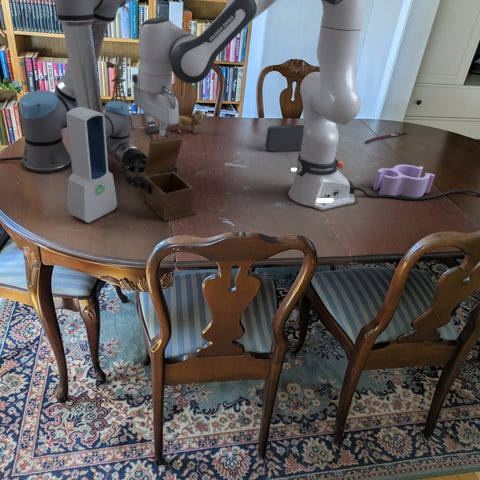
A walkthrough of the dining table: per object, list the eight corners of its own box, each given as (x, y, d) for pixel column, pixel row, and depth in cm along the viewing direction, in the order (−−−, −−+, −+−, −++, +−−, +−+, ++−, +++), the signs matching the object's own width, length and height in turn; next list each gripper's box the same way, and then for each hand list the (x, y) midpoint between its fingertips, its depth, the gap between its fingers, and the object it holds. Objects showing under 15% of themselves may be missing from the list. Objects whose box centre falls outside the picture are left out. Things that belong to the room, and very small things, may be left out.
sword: (403, 131, 224) (404, 129, 223) (408, 133, 222) (409, 131, 221) (360, 143, 208) (360, 140, 207) (365, 145, 206) (366, 142, 205)
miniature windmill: (125, 135, 188) (121, 57, 171) (105, 132, 189) (100, 54, 172) (134, 128, 195) (131, 52, 179) (115, 125, 196) (110, 49, 180)
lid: (182, 138, 133) (169, 118, 137) (152, 143, 128) (139, 122, 132) (174, 170, 143) (162, 151, 147) (145, 176, 138) (134, 156, 142)
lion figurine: (200, 128, 202) (201, 108, 197) (204, 133, 198) (205, 112, 193) (167, 129, 197) (167, 108, 192) (170, 134, 193) (170, 113, 188)
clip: (386, 199, 160) (391, 181, 156) (367, 183, 170) (371, 166, 166) (433, 195, 166) (439, 178, 163) (412, 180, 176) (417, 163, 172)
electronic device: (85, 224, 129) (74, 119, 113) (67, 215, 132) (53, 112, 116) (118, 208, 139) (112, 108, 122) (99, 200, 142) (92, 102, 125)
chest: (193, 213, 140) (193, 188, 135) (164, 221, 135) (164, 194, 131) (173, 195, 149) (173, 171, 144) (145, 202, 144) (144, 176, 139)
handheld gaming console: (315, 147, 196) (319, 124, 190) (317, 149, 194) (322, 126, 188) (264, 149, 189) (267, 125, 183) (266, 152, 187) (269, 127, 181)
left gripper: (161, 163, 163) (196, 189, 148) (100, 175, 151) (131, 204, 136) (161, 142, 159) (197, 167, 144) (98, 153, 146) (130, 181, 132)
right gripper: (185, 91, 123) (184, 141, 131) (148, 72, 137) (149, 118, 144) (164, 94, 120) (164, 144, 128) (128, 74, 133) (130, 121, 141)
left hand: (165, 185), depth 140 cm, fingers closed on chest, 10 cm apart
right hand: (156, 130), depth 136 cm, fingers open, 5 cm apart
